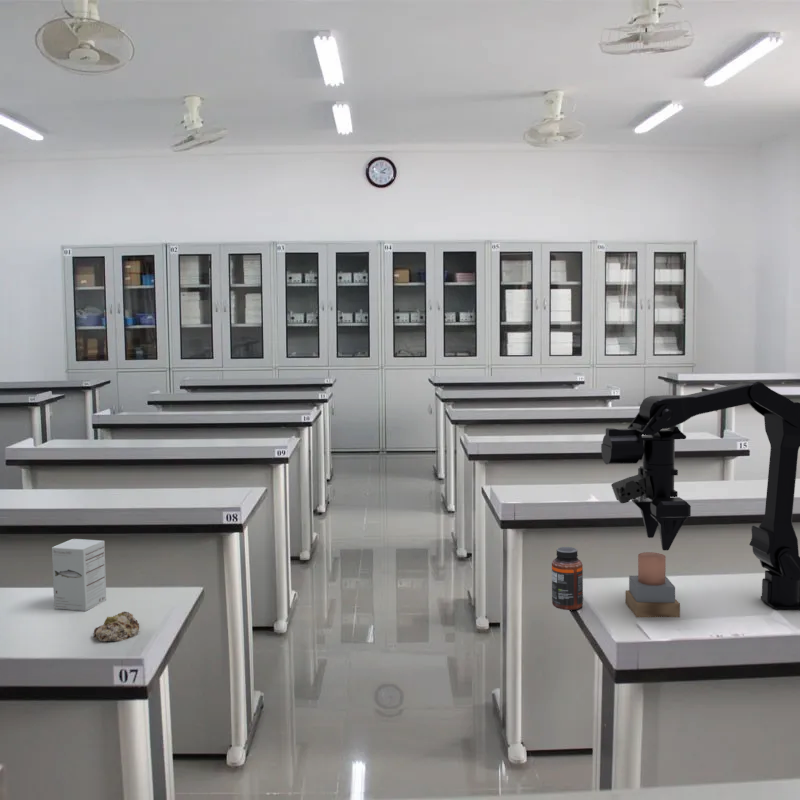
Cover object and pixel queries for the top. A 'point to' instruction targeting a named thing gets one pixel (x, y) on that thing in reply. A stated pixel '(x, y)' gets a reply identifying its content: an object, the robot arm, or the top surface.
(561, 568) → the supplement bottle
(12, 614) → the top surface
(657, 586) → the tower top
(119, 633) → the mineral rock
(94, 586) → the supplement box
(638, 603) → the tower base
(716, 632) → the top surface
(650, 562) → the brick cylinder
